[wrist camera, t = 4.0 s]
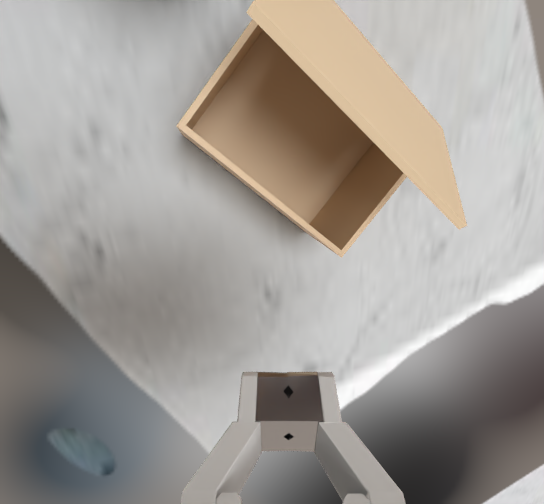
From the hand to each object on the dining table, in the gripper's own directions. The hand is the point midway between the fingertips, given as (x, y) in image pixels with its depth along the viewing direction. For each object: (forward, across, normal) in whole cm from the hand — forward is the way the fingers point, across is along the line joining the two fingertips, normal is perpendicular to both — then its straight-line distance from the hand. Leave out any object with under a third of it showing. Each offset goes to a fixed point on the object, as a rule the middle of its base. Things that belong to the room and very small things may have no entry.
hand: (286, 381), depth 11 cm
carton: (+31, +1, -1) cm, 31 cm away
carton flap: (+18, +6, +6) cm, 20 cm away
